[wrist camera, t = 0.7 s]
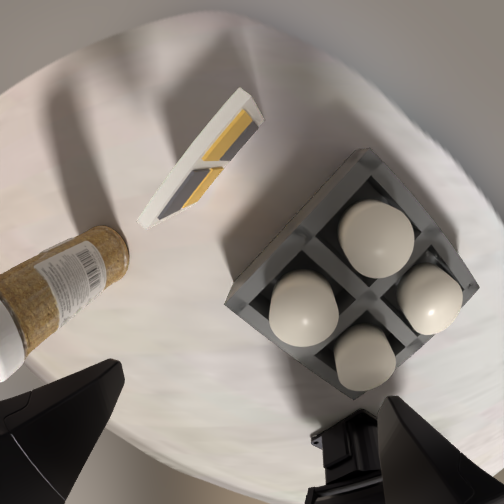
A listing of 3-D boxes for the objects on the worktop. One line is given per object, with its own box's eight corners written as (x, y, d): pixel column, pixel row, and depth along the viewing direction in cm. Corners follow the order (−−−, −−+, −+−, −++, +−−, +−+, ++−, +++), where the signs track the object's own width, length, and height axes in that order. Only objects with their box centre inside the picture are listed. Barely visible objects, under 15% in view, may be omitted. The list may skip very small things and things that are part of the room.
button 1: (395, 343, 17) (406, 364, 15) (356, 375, 18) (361, 398, 16) (363, 313, 17) (373, 334, 15) (322, 349, 18) (325, 373, 16)
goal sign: (266, 121, 17) (254, 98, 10) (195, 206, 19) (148, 232, 12) (257, 114, 17) (239, 87, 10) (187, 199, 19) (136, 221, 12)
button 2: (453, 286, 16) (471, 302, 13) (415, 325, 17) (428, 345, 14) (426, 250, 15) (444, 264, 13) (385, 292, 16) (397, 312, 14)
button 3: (345, 295, 17) (352, 315, 14) (302, 334, 18) (303, 357, 15) (301, 256, 16) (303, 272, 14) (258, 299, 17) (254, 319, 15)
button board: (458, 270, 18) (479, 287, 15) (347, 373, 21) (353, 400, 18) (355, 149, 16) (369, 148, 13) (233, 282, 20) (224, 304, 17)
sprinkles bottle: (81, 224, 20) (-60, 291, 7) (129, 224, 20) (-25, 308, 7) (89, 278, 22) (-29, 368, 9) (135, 284, 21) (15, 399, 8)
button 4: (409, 229, 15) (426, 241, 13) (366, 274, 16) (378, 292, 14) (368, 185, 15) (381, 189, 12) (323, 232, 16) (330, 245, 13)
